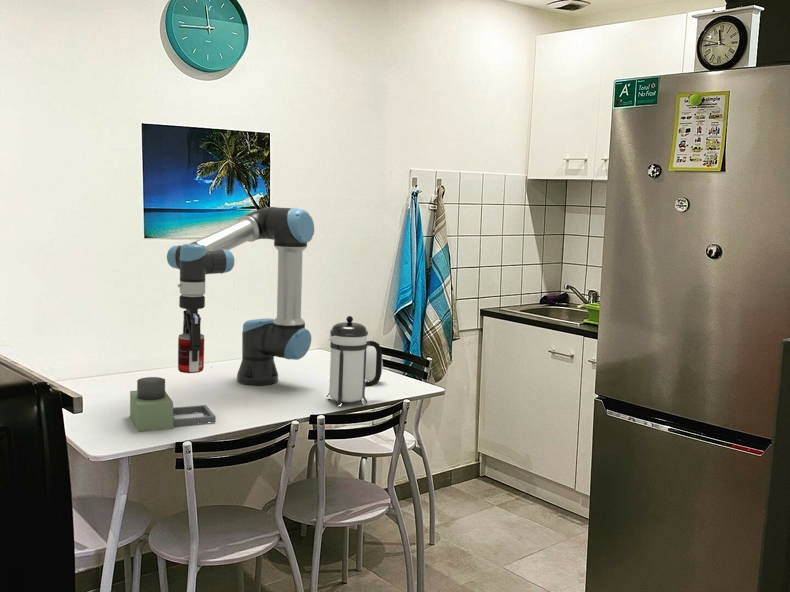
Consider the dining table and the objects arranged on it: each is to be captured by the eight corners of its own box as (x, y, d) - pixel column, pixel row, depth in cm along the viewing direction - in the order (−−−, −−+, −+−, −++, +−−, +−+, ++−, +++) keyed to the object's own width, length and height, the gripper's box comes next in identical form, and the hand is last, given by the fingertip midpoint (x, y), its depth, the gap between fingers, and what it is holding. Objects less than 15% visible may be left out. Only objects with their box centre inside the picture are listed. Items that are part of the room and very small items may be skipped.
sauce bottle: (381, 385, 289) (383, 338, 286) (360, 384, 289) (362, 337, 286) (382, 380, 296) (384, 334, 294) (362, 379, 297) (364, 333, 294)
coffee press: (359, 411, 255) (363, 322, 251) (316, 404, 261) (319, 316, 257) (380, 399, 271) (384, 314, 267) (340, 392, 277) (343, 310, 273)
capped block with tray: (204, 409, 249) (205, 370, 247) (216, 424, 235) (217, 382, 233) (130, 416, 239) (130, 375, 237) (137, 431, 225) (137, 388, 223)
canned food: (205, 368, 242) (206, 333, 240) (200, 373, 234) (201, 338, 233) (181, 367, 241) (181, 332, 240) (175, 372, 234) (175, 337, 232)
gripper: (173, 290, 242) (172, 361, 245) (186, 300, 224) (185, 376, 227) (197, 290, 245) (196, 360, 248) (212, 299, 227) (210, 375, 230)
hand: (190, 368), depth 238 cm, fingers closed on canned food, 8 cm apart
